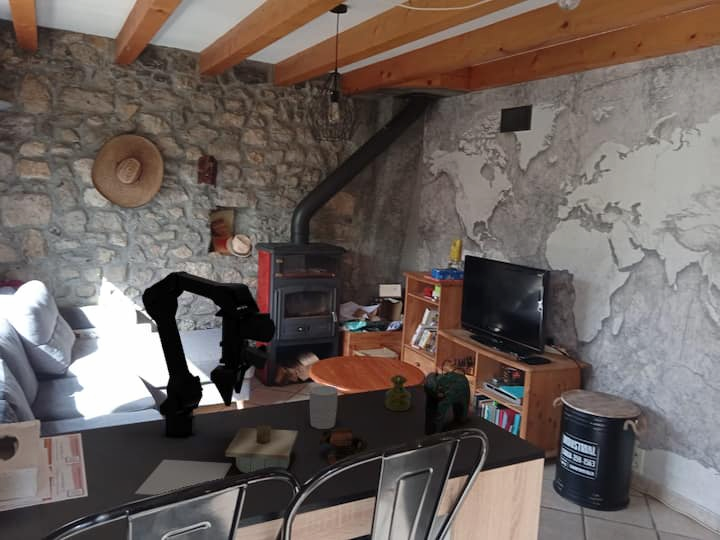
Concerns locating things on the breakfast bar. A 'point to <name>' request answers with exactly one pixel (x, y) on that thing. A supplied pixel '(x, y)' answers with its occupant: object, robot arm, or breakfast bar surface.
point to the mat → (181, 475)
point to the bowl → (259, 463)
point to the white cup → (323, 406)
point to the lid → (262, 443)
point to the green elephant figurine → (445, 398)
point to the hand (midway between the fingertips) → (233, 399)
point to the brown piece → (343, 443)
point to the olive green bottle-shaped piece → (398, 395)
